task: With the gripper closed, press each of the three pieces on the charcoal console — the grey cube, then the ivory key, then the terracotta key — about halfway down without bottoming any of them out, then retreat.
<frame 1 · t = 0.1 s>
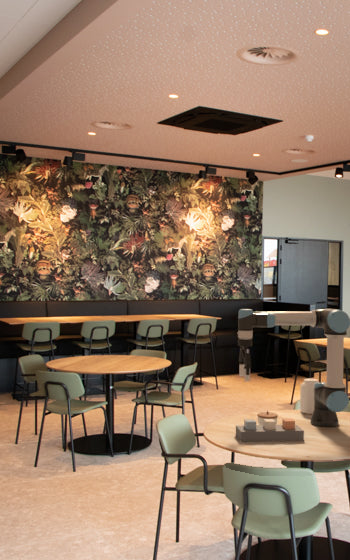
hand: (244, 378, 307), 28 cm above the table, fingers open, 13 cm apart
key terracotta: (288, 424, 297), point 7 cm above the table, slide at 0.0 cm
grey cube: (250, 425, 295), point 7 cm above the table, slide at 0.0 cm
console: (269, 437, 296), on the table
lidded jar: (267, 429, 314), on the table
key ivory: (269, 425, 296), point 7 cm above the table, slide at 0.0 cm
can: (310, 412, 354), on the table
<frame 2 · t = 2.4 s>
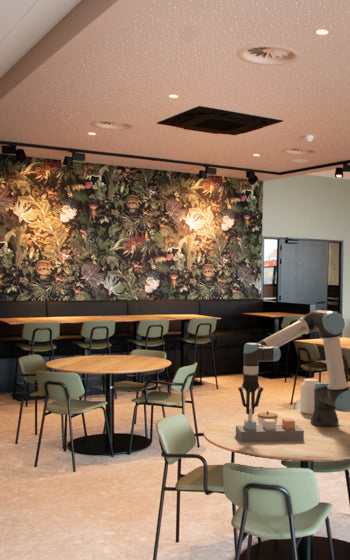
hand: (250, 420, 295), 9 cm above the table, fingers closed
grey cube: (250, 425, 295), point 6 cm above the table, slide at 0.2 cm, touching gripper
everything else where it was.
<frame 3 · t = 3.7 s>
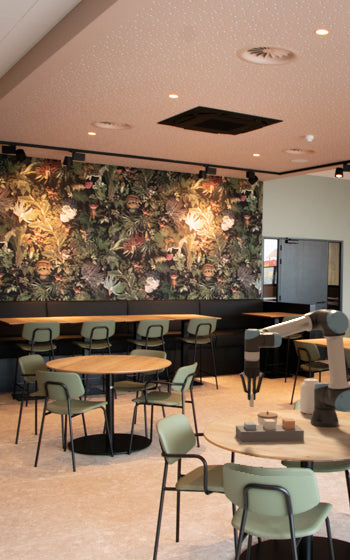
hand: (251, 406, 295), 16 cm above the table, fingers closed
grey cube: (250, 428, 295), point 5 cm above the table, slide at 1.4 cm
everything else where it was.
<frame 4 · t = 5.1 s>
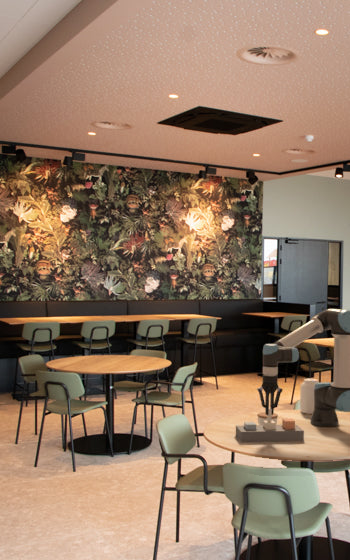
hand: (269, 421, 296), 9 cm above the table, fingers closed
key ivory: (269, 426, 296), point 6 cm above the table, slide at 0.7 cm, touching gripper
everything else where it was.
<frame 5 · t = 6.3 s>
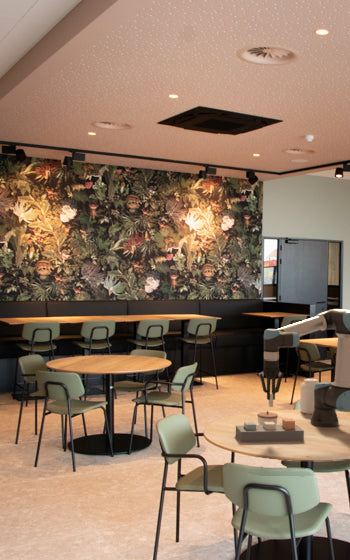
hand: (270, 406, 296), 16 cm above the table, fingers closed
key ivory: (269, 427, 296), point 5 cm above the table, slide at 1.4 cm
everything else where it was.
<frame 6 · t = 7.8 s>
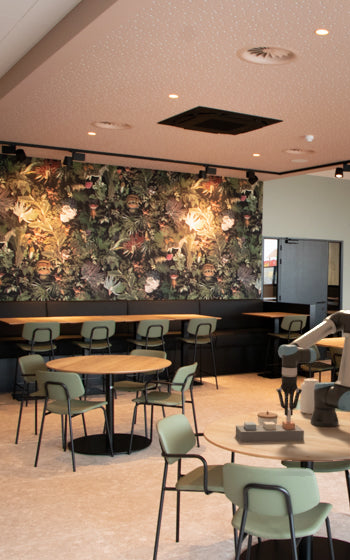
hand: (288, 421, 297), 8 cm above the table, fingers closed
key terracotta: (288, 427, 297), point 5 cm above the table, slide at 1.2 cm, touching gripper
everything else where it was.
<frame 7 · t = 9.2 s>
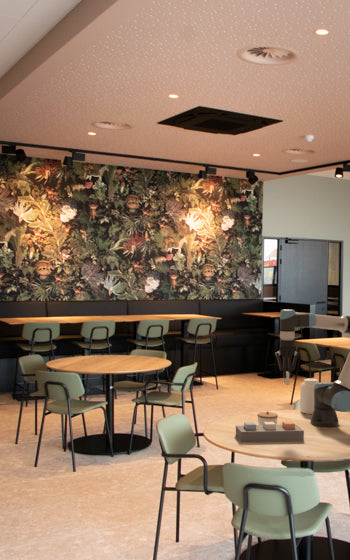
hand: (287, 384, 305), 26 cm above the table, fingers closed
key terracotta: (288, 427, 297), point 5 cm above the table, slide at 1.4 cm
everything else where it was.
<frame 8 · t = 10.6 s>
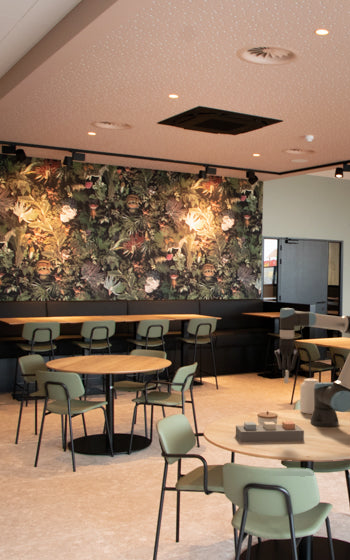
hand: (286, 382, 305), 26 cm above the table, fingers closed
nothing on the table moved.
at the end: grey cube slide at 1.4 cm; key ivory slide at 1.4 cm; key terracotta slide at 1.4 cm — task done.
